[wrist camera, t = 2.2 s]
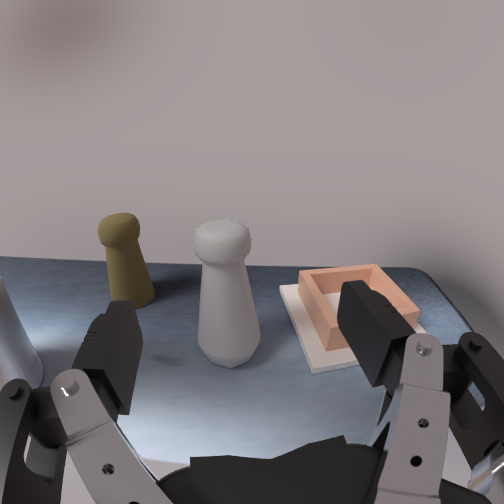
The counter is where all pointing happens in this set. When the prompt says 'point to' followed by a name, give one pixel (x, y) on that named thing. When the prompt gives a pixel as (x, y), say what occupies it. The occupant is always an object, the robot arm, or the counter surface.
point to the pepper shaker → (125, 260)
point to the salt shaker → (225, 294)
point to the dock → (335, 311)
